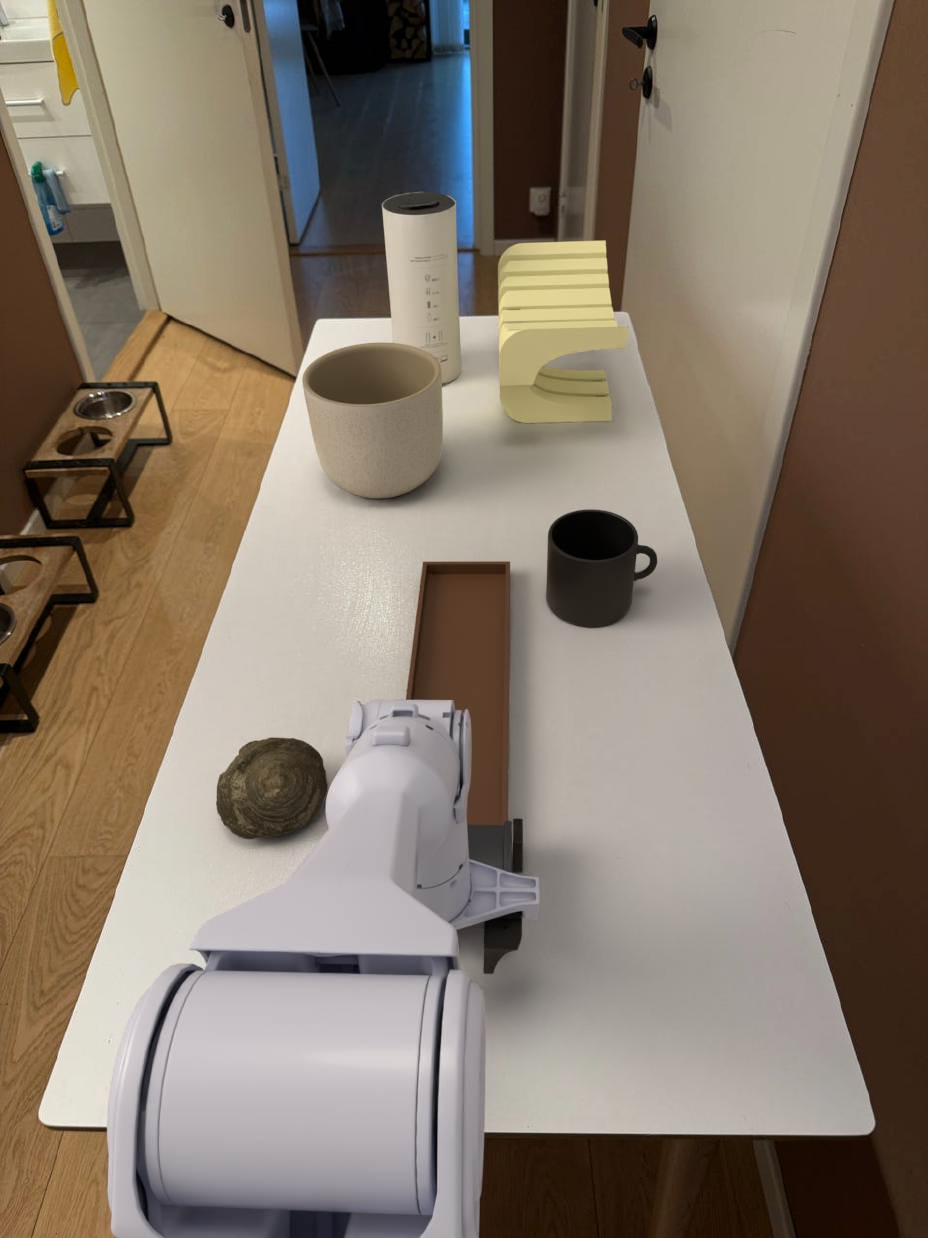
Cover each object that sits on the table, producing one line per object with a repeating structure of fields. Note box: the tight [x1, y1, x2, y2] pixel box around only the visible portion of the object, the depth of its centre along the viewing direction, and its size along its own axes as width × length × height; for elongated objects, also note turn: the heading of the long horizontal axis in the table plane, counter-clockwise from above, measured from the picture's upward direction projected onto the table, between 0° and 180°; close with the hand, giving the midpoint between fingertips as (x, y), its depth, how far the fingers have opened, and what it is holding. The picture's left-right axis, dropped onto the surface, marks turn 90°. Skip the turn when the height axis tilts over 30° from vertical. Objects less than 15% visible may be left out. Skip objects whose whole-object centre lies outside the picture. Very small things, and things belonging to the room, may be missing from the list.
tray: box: [405, 560, 511, 825], centre depth 92 cm, size 39×10×2 cm, turn 177°
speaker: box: [381, 191, 463, 386], centre depth 137 cm, size 11×10×26 cm
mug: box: [545, 508, 658, 628], centre depth 100 cm, size 9×12×9 cm
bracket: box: [512, 817, 524, 873], centre depth 77 cm, size 2×13×4 cm, turn 88°
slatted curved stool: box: [497, 239, 629, 424], centre depth 131 cm, size 30×16×18 cm, turn 179°
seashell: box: [215, 715, 329, 840], centre depth 80 cm, size 11×12×10 cm
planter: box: [301, 342, 444, 499], centre depth 118 cm, size 17×17×15 cm
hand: (435, 959), depth 66 cm, fingers open, 7 cm apart
